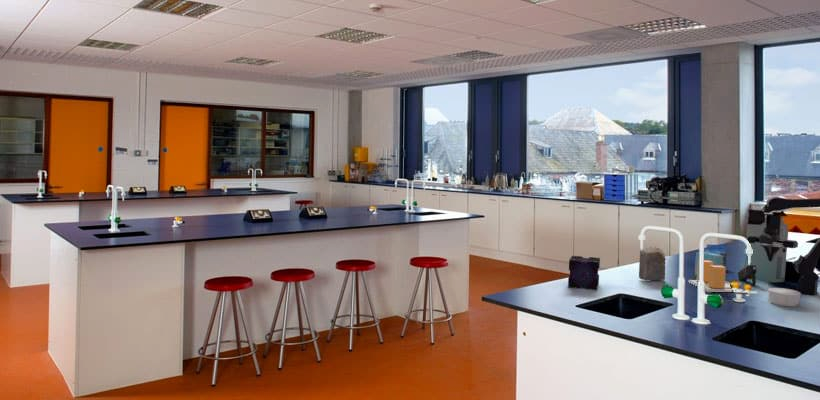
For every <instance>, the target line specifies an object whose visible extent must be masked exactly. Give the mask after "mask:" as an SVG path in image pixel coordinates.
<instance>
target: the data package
mask: <svg viewBox="0 0 820 400" xmlns="http://www.w3.org/2000/svg"><path fill="white" fill-rule="evenodd" d="M699 252H700V251H697V252H696V253H695V262H694V275H695V276H696V275H697V264H698V260H699ZM703 252H704V260H708V261H711V262H713V265H718V266H722V263H723V257H722V256H721V255H719V254H714V253H709V252H706V251H703Z"/></svg>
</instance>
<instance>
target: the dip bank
mask: <svg viewBox="0 0 820 400" xmlns="http://www.w3.org/2000/svg"><path fill="white" fill-rule="evenodd" d="M688 282H689V283H688ZM688 282H687V283H688V284H690V283H691V285H692V284H693V286H694V285H695V286H694V287H696V286H697V282H698V280H696V279H695V280H694V279H688ZM730 283H731V282H729V281H727V280H725V288H712V287H710V286H708V284H709V282H705V291H704V292H706V293H711V292H732V288H731V287H730Z"/></svg>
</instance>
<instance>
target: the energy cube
mask: <svg viewBox="0 0 820 400" xmlns="http://www.w3.org/2000/svg"><path fill="white" fill-rule="evenodd" d="M600 262H601V258H600V257H593V256H592V257H591V256H589V257H583V256H581V255H571V256H570V258H569V262H568V271H569V276H568V279H567V288H571V289H573V288H574V289H579V288H584V289H586V290H590V291H598V287H599V283H600V280H599V279H600V275H599V269H600V268H601V267H600Z"/></svg>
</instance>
